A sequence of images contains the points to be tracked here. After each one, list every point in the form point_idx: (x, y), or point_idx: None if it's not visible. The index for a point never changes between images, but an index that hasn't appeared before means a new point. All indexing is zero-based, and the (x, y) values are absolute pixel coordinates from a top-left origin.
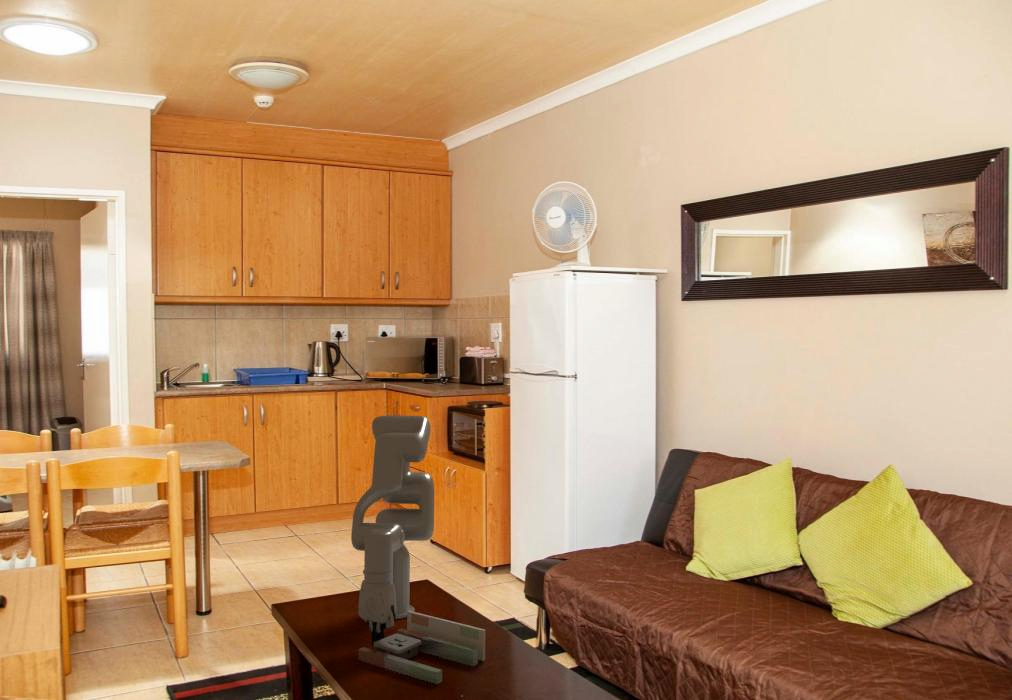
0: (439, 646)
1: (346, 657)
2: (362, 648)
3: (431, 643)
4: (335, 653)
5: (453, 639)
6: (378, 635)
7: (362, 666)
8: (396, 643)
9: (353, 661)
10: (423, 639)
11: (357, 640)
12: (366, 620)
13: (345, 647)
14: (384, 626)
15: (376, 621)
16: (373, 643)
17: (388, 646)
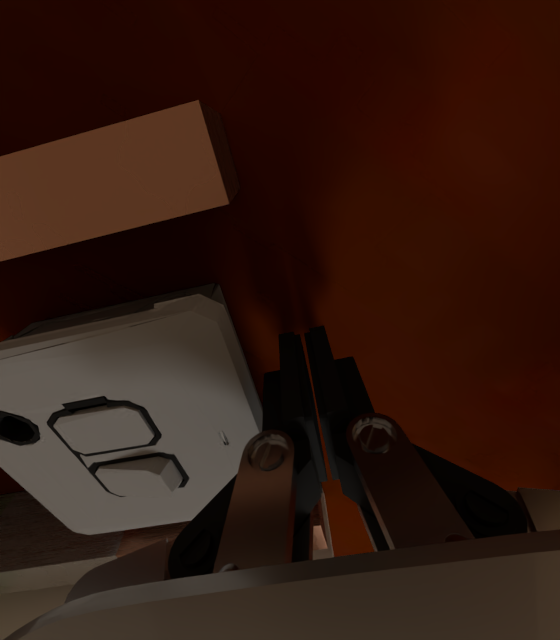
0: (13, 542)
1: (368, 70)
2: (196, 161)
3: (60, 539)
4: (535, 38)
5: (33, 603)
6: (280, 415)
7: (69, 57)
8: (63, 430)
9: (237, 63)
10: (110, 543)
11: (545, 341)
12: (543, 508)
13: (542, 210)
14: (178, 543)
15: (162, 609)
16: (310, 342)
17: (24, 359)
